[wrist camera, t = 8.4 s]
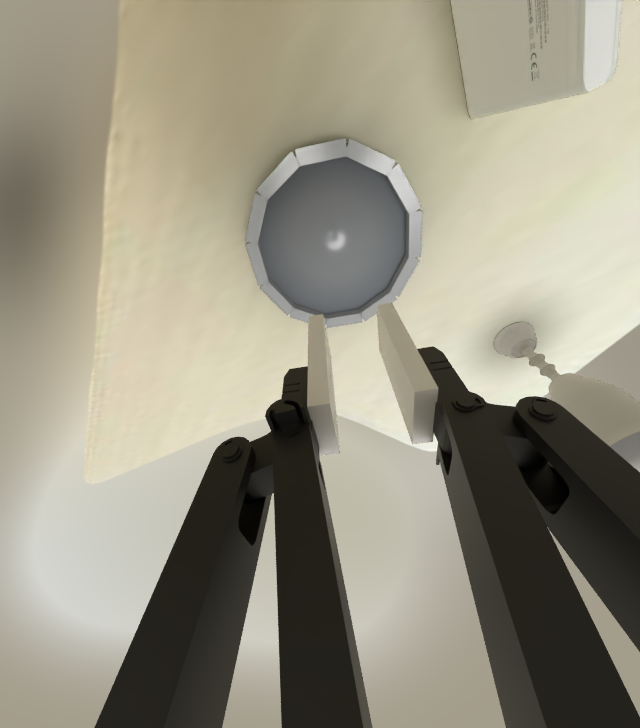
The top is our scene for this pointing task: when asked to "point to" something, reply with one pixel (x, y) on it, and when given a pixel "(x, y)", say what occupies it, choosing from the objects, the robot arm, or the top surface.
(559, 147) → the top surface
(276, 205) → the dish
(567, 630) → the robot arm
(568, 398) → the chalice
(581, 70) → the external hard drive
